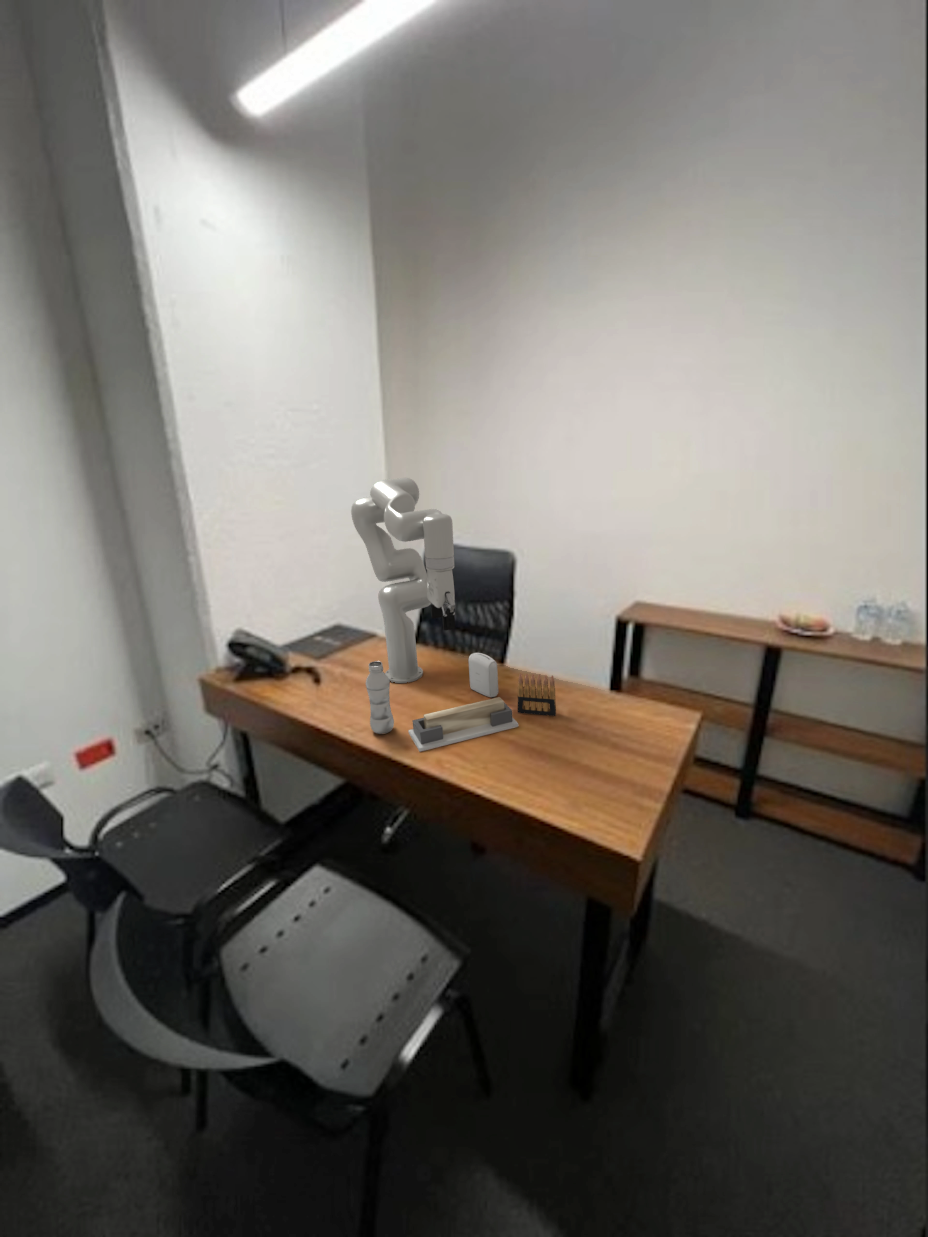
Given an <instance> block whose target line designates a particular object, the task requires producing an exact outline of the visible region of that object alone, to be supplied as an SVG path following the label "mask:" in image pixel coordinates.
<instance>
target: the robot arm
mask: <svg viewBox="0 0 928 1237" xmlns="http://www.w3.org/2000/svg"><path fill="white" fill-rule="evenodd" d="M419 489H420V488H419V486H418V484H417V482H416V481H414V479H412V478H410V477H399V478H389V479H382V480H378V481H377V482H375V483H374V484H373V485H372V486H371V487H370V490H369V491H370V492H369V496H366V497H363V498H359V499H356V500H355V501H354V502H353V503H352V505H351V510H350V513H351V519H352V522H353V525H354V528H355V530H356V532H357V534H358V535H359V537H360V538H361V540H362V541H363V543H364V545H365V548H366V550H367V551H366V552H367V554H368V556H369V561H370V564H371V566H372V570H373V572H374V573H373V574H374V575H375V577H376V579H377V580H378V581H380V582H383V583H387V582H393V581H394V582H395V581H398V580H404V579H408V580H406V581H400V582H395V583H391V584H386V585H385V586H383V587H381V588H380V590H379V592H378V597H377V598H378V603H379V607H380V611H381V613H382V618H383V626H384V633H385V642H386V643H385V645H386V651H387V654H386V655H387V663H388V664H387V665H388V669H387V670H386V671H385V672H384V673H385V674H386V675H387V676H388V678H389V681H391V682H390V683H393V682H395V684H407V682H408V683H412V682H415V681H417V680H420V678H422V677H423V676H424V675H423V674H424V670H423V668H422V667H421V666H419V664H418V652H417V642H416V641H417V640H416V630H415V623H414V622H413V620H412V618H410V617H409V616H408V615H407V614H406V613H408V612H410V611H415V610H419V609H424V608H427V607H429V606H430V611H431V612H430V613H431V615H430V616H431V619H439V618H442V628H443V631H448V630H449V631H450V630H454V629H456V619H455V618H456V616H455V615H456V612H455V611H456V610H455V609H456V606H455V605H456V603H455V601H456V600H455V585H454V584H455V583H454V582H455V581H454V576H453V569H454V568H455V554H454V553H455V552H454V550H455V549H454V547H455V546H454V530H453V519H452V517H451V515H449V514H447V513H442V512H441V511H440V510H439V509H437V508H431V509H423V510H415V509H416V508H415V507H416V506H417V504H418V501H419V499H420V490H419ZM381 523H384V525H385V528H386V530H387V532H388V533H387V532H386V530H384V529H383V528H382V527H380V526H379V525H377V524H381ZM389 534H390V535H391V536H392V537H394V538H395V539H396V540H398V541H400V542H403V543H406V542H411V541H418V540H423V542H424V543H423V545H424V560H425V564H424V561H423V559H422V556H421V555H420V553H419V552H418V551H417V550H416V549H414V548H411V547H410V548H401V549H397V548H396V547H395V546H394V543H393V540H392V538H391V536H390V535H389ZM446 608H447V609H446Z"/></svg>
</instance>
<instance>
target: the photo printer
mask: <svg viewBox="0 0 928 1237" xmlns="http://www.w3.org/2000/svg"><path fill="white" fill-rule="evenodd" d="M467 661H468V673H469V677H468V678H469V686H470V689H471V690H473V691H474V692H477V693H479V694H481V695H483V696H485V697H488V698H496V697H497V696H498V694H499V677H498V676H499V674H498V663H497V661H496V660H495V659H494V658H493V657H491V656H489V655H487V654H485V653H482V652H473V653H471V654H470V655H469V657H468V660H467Z"/></svg>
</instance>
